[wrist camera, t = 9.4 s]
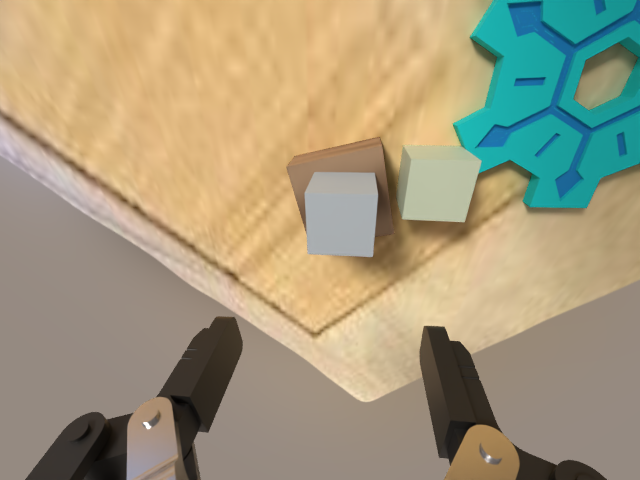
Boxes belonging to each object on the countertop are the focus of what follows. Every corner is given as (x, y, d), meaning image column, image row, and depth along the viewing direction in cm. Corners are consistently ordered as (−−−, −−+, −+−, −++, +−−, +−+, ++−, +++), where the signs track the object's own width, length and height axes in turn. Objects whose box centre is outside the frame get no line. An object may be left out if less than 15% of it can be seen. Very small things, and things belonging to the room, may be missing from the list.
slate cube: (314, 171, 24) (304, 193, 20) (374, 172, 23) (378, 194, 19) (316, 225, 26) (307, 254, 22) (370, 226, 26) (373, 257, 22)
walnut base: (295, 155, 27) (286, 166, 24) (379, 136, 26) (382, 145, 22) (315, 227, 31) (310, 246, 28) (390, 215, 29) (394, 233, 26)
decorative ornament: (668, 201, 25) (880, -143, 15) (686, 209, 24) (933, -165, 14) (437, 199, 28) (490, -98, 18) (441, 205, 27) (501, -112, 17)
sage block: (461, 145, 25) (402, 144, 26) (481, 161, 21) (411, 159, 21) (448, 198, 28) (395, 196, 28) (464, 222, 23) (402, 219, 24)
